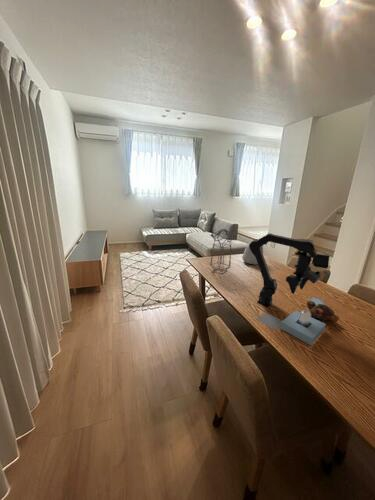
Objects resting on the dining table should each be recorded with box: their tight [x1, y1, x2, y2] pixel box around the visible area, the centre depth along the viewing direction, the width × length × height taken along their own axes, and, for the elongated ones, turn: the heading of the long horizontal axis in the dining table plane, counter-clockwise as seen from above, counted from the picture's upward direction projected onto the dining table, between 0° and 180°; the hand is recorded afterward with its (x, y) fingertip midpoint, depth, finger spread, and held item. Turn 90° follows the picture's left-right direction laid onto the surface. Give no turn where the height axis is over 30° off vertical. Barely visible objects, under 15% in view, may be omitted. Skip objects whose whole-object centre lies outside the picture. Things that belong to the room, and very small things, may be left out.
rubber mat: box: [256, 312, 283, 330], centre depth 104 cm, size 10×10×1 cm
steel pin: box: [298, 309, 311, 328], centre depth 97 cm, size 4×4×10 cm
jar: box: [241, 243, 258, 266], centre depth 182 cm, size 19×15×25 cm
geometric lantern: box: [209, 228, 237, 274], centre depth 161 cm, size 16×16×35 cm
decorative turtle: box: [306, 300, 340, 323], centre depth 107 cm, size 10×15×8 cm, turn 51°
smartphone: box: [307, 297, 327, 306], centre depth 120 cm, size 7×1×15 cm
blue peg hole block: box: [279, 310, 327, 346], centre depth 98 cm, size 14×16×4 cm
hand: (297, 291), depth 109 cm, fingers open, 9 cm apart
